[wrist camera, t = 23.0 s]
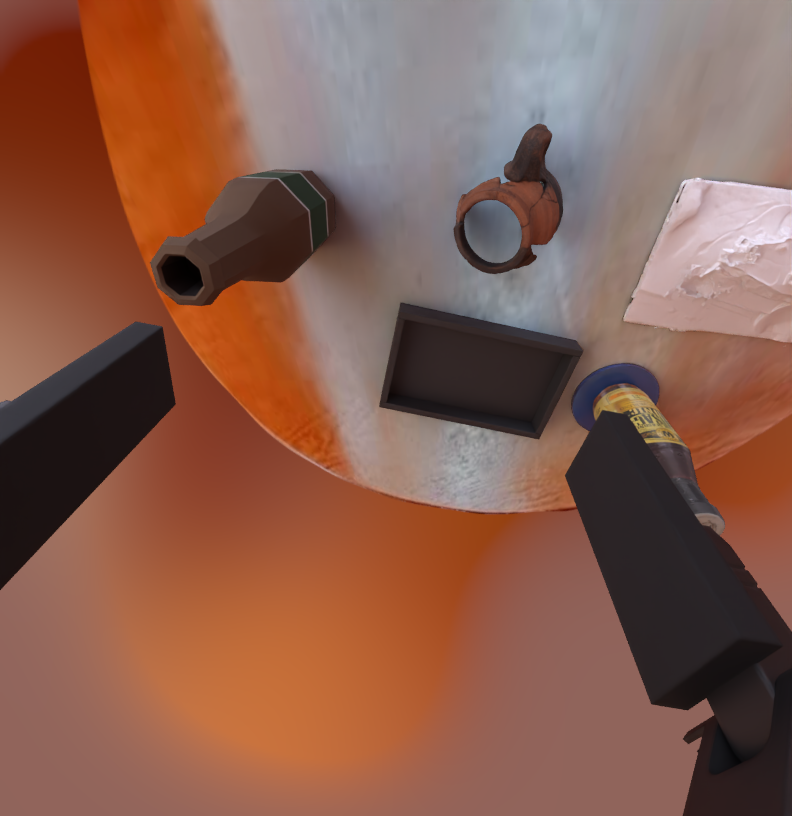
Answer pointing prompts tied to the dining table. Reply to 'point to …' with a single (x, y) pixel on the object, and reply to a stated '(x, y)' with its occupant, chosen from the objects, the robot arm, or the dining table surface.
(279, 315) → the dining table surface
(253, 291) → the dining table surface
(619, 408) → the sauce bottle
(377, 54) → the dining table surface
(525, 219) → the brown broken pot
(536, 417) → the tray
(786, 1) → the dining table surface
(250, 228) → the beer bottle
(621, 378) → the coaster
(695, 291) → the terrain model
